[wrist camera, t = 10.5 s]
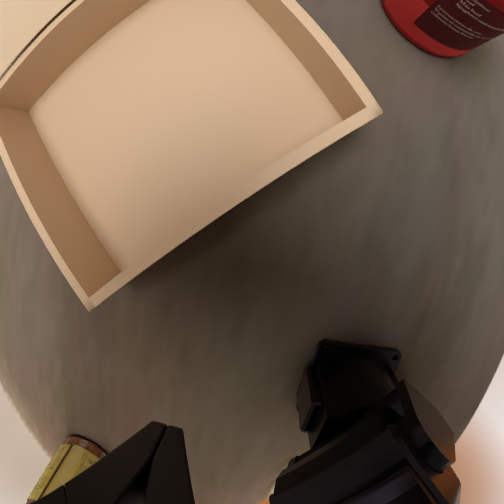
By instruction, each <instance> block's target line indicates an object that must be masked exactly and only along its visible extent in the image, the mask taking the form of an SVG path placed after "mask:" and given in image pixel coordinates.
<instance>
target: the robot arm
mask: <svg viewBox="0 0 504 504" xmlns="http://www.w3.org/2000/svg"><path fill="white" fill-rule="evenodd" d="M324 346H328V348H327V349H322V348H323V347H324ZM394 355H396V357H394V358H392V357H393V356H394ZM400 359H401V353H400V352H399V350H397V349H390V348H381V347H373V346H365V345H357V344H350V343H343V342H336V341H329V340H323V341H321V342H320V343H319V344H318V346H317V349H316V352H315V355H314V357H313V360H312V363H311V366H308V367H306V368H305V371H304V374H303V377H302V380H301V382H300V385H299V388H298V391H297V405H296V407H297V411H298V413H299V423H300V430H301V431H302V432H306V433H308V436H309V445H310V450H309V451H307V452H305V453H304V454H302V455H300V456H296V457H294V458H292V459H291V460H290V462H289V464H288V467H287V468H286V469H284V470H282V472H281V473H280V475H279V476H278V477H277V479H276V483H275V488H274V494H271V495H270V497H269V502H270V504H460V492H461V483H460V481H459V479H458V477H457V476H456V474H455V473H454V471H453V469H452V468H451V466H450V465H452V464H453V463H454V462H455V460H456V459H455V443H454V433H453V432H452V430H451V429H450V427H449V426H448V424H447V423H446V421H445V420H444V418H443V417H442V415H441V414H440V412H439V411H438V410H437V409H436V408H435V407H434V406H433V405H432V404H431V403H430V402H429V401H428V400H426V399H425V398H424V397H423V396H422V395H421V394H420V393H419V392H418V391H417V390H416V389H415V388H414V387H412V386H411V385H410V384H409V383H408V382H407V381H406V380H405V379H402V380H401V381H400V382H399V381H398V379H397V378H396V376H395V374H394V372H395V370H396V368H397V366H398V364H399V361H400ZM29 504H195V501H194V496H193V490H192V485H191V479H190V473H189V467H188V461H187V454H186V448H185V441H184V433H183V429H182V428H178V427H174V426H170V425H169V426H168V427H167V425H166V424H163V423H160V422H156V421H152V422H150V423H149V424H148V425H146V426H145V427H144V428H142V429H141V430H140V431H138V432H137V433H136V434H134V435H133V436H132V437H130V438H129V439H128V440H126V441H125V442H124V443H122V444H121V445H120V446H118V447H117V448H115V449H114V450H113V451H111V452H110V453H108V454H107V455H106V456H104V457H103V458H101V459H100V460H98V461H97V462H96V463H94V464H93V465H91V466H90V467H88V468H87V469H85V470H84V471H83V472H81V473H80V474H78V475H77V476H75V477H74V478H72V479H71V480H69V481H68V482H66V483H65V484H64V485H61V486H60V487H58V488H57V489H55V490H53V491H52V492H50V493H48V494H47V495H45V496H43V497H41V498H40V499H38V500H36V501H33V502H31V503H29Z"/></svg>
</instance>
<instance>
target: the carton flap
mask: <svg viewBox="0 0 504 504" xmlns="http://www.w3.org/2000/svg"><path fill="white" fill-rule="evenodd" d="M71 1H72V0H0V77H1V76H2V75H3V73H4V72H5V71H6V70H7V68H8V67H9V66H10V65H11V63H12V62H13V61H14V60H15V58H16V57H17V56H18V55H19V54H20V53H21V51H22V50H23V49H24V48H25V47H26V46H27V45H28V43H29V42H30V41H31V40H32V39H33V38H34V37H35V36H36V35H37V34H38V33H39V32H40V31H41V30H42V29H43V28H44V27H45V26H46V25H47V24H48V23H49V22H50V21H51V20H52V19H53V18H54V17H55V16H56V15H57V14H58V13H59V12H60V11H61V10H62V9H63V8H64V7H66V6H67V5H68V4H69V3H70V2H71Z"/></svg>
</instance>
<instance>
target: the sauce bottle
mask: <svg viewBox="0 0 504 504" xmlns="http://www.w3.org/2000/svg"><path fill="white" fill-rule="evenodd" d="M104 456H106V453H104V452H103V451H102V449H100V448H99V447H98V446H97V445H96V444H94V443H92V442H90V441H87V440H85V439H83V438H81V437H78V436H71V437H69V438H67V439H66V440H65V441H64V443H63V445H60V447H59V448H58V450H57V452H56V453H55V455H54V456H53V458H52V459H51V461H50V463H49V464H48V466H47V468H46V469H45V471H44V473H43V474H42V476H41V477H40V479H39V481H38V482H37V484H36V486H35V487H34V489H33V491H32V492H31V494H30V496H29V497H28V499H27V503H26V504H29V503H31V502H33V501H36V500H38V499H40V498H41V497H43V496H45V495H47V494H48V493H50V492H52V491H53V490H55V489H57V488H58V487H60V486H61V485H64V484H65V483H66V482H68V481H69V480H71V479H72V478H74V477H75V476H77V475H78V474H80V473H81V472H83V471H84V470H85V469H87V468H88V467H90V466H91V465H93V464H94V463H96V462H97V461H98V460H100V459H101V458H103V457H104Z"/></svg>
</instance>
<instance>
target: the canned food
mask: <svg viewBox="0 0 504 504" xmlns="http://www.w3.org/2000/svg"><path fill="white" fill-rule="evenodd" d="M382 3H383V7H384V9H385V11H386V13H387V15H388V17H389V18H390V20H391V21H392V23H393V24H394V25H395V27H396V28H397V29H398V30H399V31H400V32H401V33H402V34H403V35H404V36H405V37H406V38H407V39H408V40H409V41H411V42H412V43H413V44H415V45H416V46H418V47H419V48H421V49H423V50H425V51H427V52H429V53H432V54H434V55H438V56H459V55H463V54H465V53H467V52H468V51H470V50H472V49H474V48H476V47H478V46H480V45H482V44H484V43H485V42H487V41H489V40H491V39H493V38H495V37H497V36H499V35H501V34H503V33H504V0H382Z"/></svg>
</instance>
